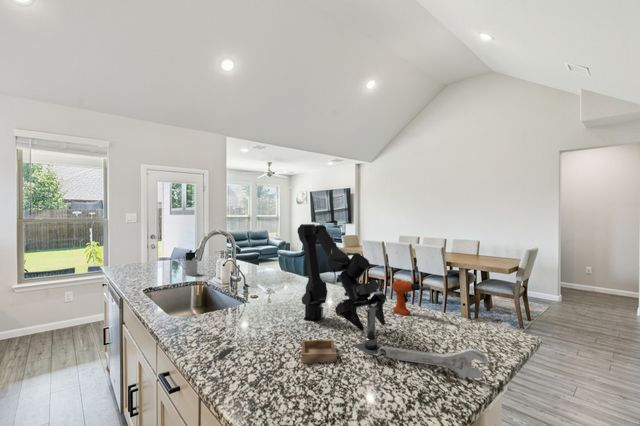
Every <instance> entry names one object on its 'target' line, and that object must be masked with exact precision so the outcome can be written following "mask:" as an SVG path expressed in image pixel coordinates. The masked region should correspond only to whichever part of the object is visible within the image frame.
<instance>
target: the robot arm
mask: <svg viewBox="0 0 640 426" xmlns="http://www.w3.org/2000/svg"><path fill="white" fill-rule="evenodd" d="M297 235H298V240H299V241H300V242H301V244H302V245H303V247H304V248H303V249H304V255H305V263H306V271H307V272H306V273H307V278H308V279H307V282H306V285H305V293H304V294H303V296H302V297H301V303H302V304H303V305H304V306H305V307H304V311H305V312H304V315H305V316H304V317H303V320H305V321H311V322H312V321H313V322H320V321H321V320H322V318H323V317H324V306H323V304H326V300H327V297H328V288H327V283H326V281H324V280H323V279H322V278H321V273H320V266H319V260H318V259H319V258H318V252H317V246H316V245H317V241H318V243H319V245H320V246H321V248H322V249H323V251H324V253H325V254H326V257H327V260H326V262H327V264H328V267H329V270H330V271H332V273H340V274H337V277H336V284H337V283H341V285H342V287H343V289H344V291H345V292H344V294H343V295H344V297H348V298H347V299H341V300H340V301H339V303H338V304H337V305H336V306H335V310H334V311H335V314H336V316H337V317H341V318H342V319H345V320H346V321H348V322H349V323H351V324H352V325H354V326H355V328H357V329H359V331H361V332H363V331H364V330H365V328H364V325H363V323H362V321H361V318H360V317H359V314H358V312H357V311H358V310H357V308H361V307H366V306H367V307H368V306H374V307H377V308H378V309H377V310H376V311H375V319H377V320H378V322H379V323H380V324H381V325H382V326H385V325H386V321H385V316H384V304H385V303H386V301H387V300H388V298H387V297H386V295H385V293H383V292H379V293H378V290H379V289H380V285H379V283H378V281H377V279H372V280H369V281H368V282H366V283H363V282H360V281H359V280H358V279H360V278H361V277H362V276H363V275H364V274H365V273H366V271H367V270H368V269H369V268H370V261H369V259H367V258H366V257H365V256H363V255H361V254H360V253H359V252H356V253H352V254H353V255H352V256H351V258H350V257H349V255H348V254H346V253H347V252H344V251H343V250H341V249H340V248H339V247H338V245H336V242H335V241H334V239H333V238H332V237H331V235H330V234H329V232H328V229H327V227H326V225H324V224H314V223H304V224H300V225H299V226H298V228H297ZM372 293H373V295H372ZM371 296H372V297H371Z"/></svg>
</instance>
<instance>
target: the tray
mask: <svg viewBox="0 0 640 426" xmlns="http://www.w3.org/2000/svg"><path fill="white" fill-rule="evenodd" d="M337 355H338V353H337V349H336V346H335V343H334V339H305V340H304V339H301V364H318V363H322V362H323V363H327V362H328V363H329V362H332V363H333V362H337V359H338V358H337V357H338V356H337Z"/></svg>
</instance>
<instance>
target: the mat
mask: <svg viewBox="0 0 640 426" xmlns="http://www.w3.org/2000/svg"><path fill="white" fill-rule="evenodd" d="M382 346H383V345H381V344H379V343H377V349H376V350H368V349H366V348H365V342H362V343H358V344H356V345H353V347H354V348H356V349H358V350H360V351H361V352H363V353H365V354H367V355H368V356H372V355H376V354H378V350H379V348H380V347H382ZM381 352H382V353H383V352H386V351H385V350H384V349H381Z"/></svg>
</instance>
